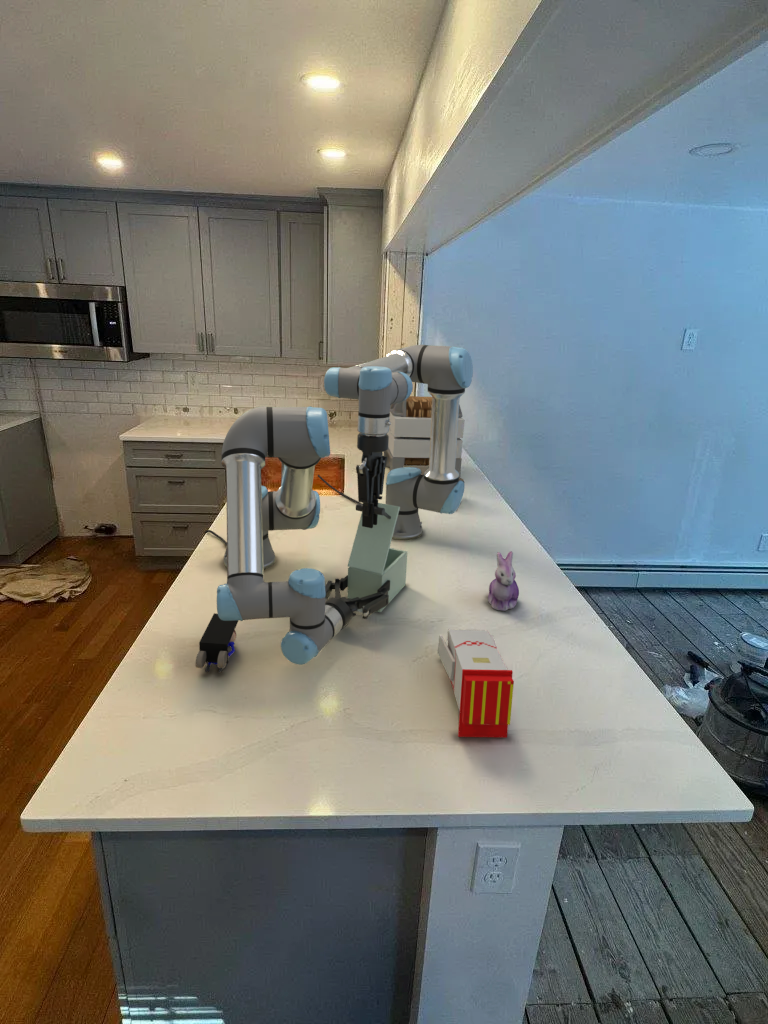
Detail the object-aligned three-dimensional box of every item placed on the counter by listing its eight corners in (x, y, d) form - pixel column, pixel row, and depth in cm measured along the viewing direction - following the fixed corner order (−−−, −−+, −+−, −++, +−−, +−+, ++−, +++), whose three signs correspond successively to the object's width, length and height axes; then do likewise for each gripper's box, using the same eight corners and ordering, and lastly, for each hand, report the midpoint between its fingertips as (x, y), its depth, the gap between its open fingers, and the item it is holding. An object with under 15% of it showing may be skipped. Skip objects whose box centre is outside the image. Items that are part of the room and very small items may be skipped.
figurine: (500, 615, 149) (507, 563, 144) (477, 598, 157) (483, 548, 152) (528, 608, 153) (536, 557, 148) (504, 591, 161) (510, 543, 156)
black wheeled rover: (228, 683, 120) (242, 637, 133) (225, 655, 116) (240, 611, 130) (196, 682, 119) (214, 637, 133) (192, 654, 116) (211, 610, 130)
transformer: (382, 463, 289) (386, 382, 275) (445, 464, 293) (451, 384, 279) (390, 482, 257) (394, 392, 243) (460, 483, 261) (468, 394, 247)
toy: (488, 613, 130) (523, 677, 101) (484, 667, 133) (517, 744, 104) (435, 612, 130) (455, 676, 101) (432, 666, 133) (451, 743, 103)
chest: (374, 577, 167) (375, 544, 163) (405, 584, 163) (407, 551, 159) (347, 603, 151) (347, 568, 148) (380, 612, 148) (382, 576, 144)
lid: (366, 501, 151) (354, 492, 144) (400, 507, 147) (390, 498, 140) (348, 566, 148) (335, 561, 140) (382, 574, 144) (371, 569, 137)
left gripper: (288, 620, 137) (333, 583, 156) (372, 645, 128) (409, 602, 148) (288, 593, 134) (333, 559, 154) (374, 616, 126) (410, 576, 145)
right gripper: (374, 441, 128) (370, 537, 136) (399, 430, 141) (394, 519, 149) (344, 436, 130) (342, 531, 138) (372, 426, 143) (368, 514, 151)
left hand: (370, 580), depth 151 cm, fingers closed on chest, 10 cm apart
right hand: (369, 525), depth 143 cm, fingers closed on lid, 2 cm apart
